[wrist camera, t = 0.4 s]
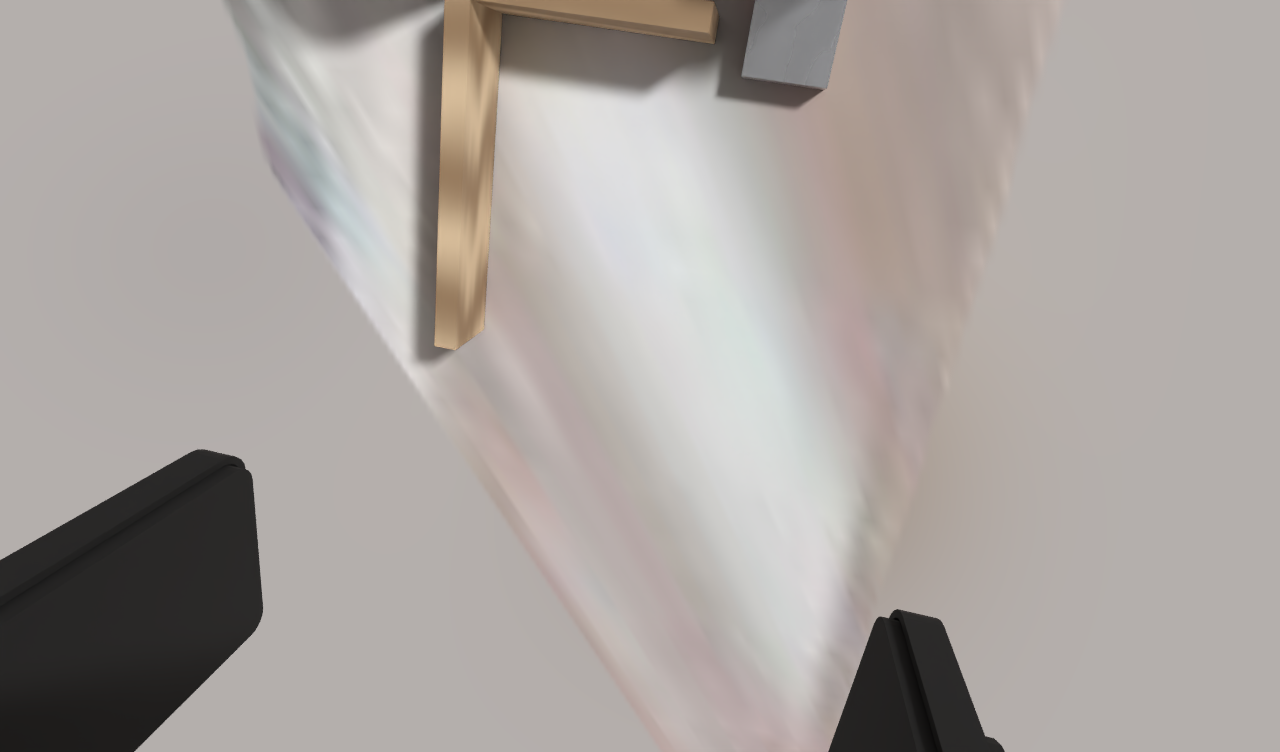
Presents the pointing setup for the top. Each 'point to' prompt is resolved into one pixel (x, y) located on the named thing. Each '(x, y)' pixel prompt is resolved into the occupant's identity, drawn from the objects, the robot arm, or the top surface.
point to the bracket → (793, 41)
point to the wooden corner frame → (468, 125)
